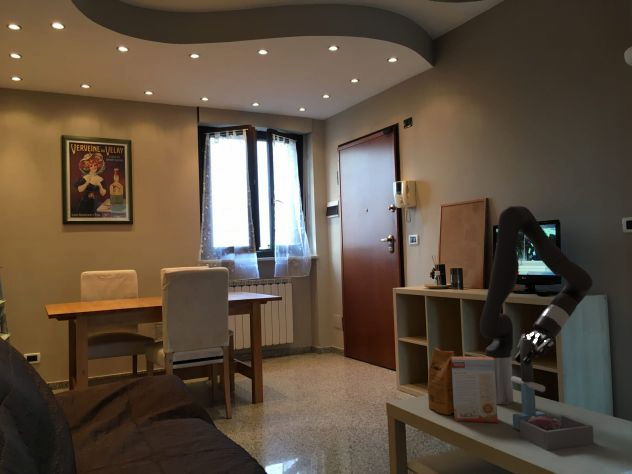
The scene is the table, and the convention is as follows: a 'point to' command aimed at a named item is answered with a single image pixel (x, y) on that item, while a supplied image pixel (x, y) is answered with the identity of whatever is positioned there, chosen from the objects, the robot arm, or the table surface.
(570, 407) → the table surface
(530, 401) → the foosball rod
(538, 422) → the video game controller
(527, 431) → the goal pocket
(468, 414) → the cracker box
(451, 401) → the coffee package
